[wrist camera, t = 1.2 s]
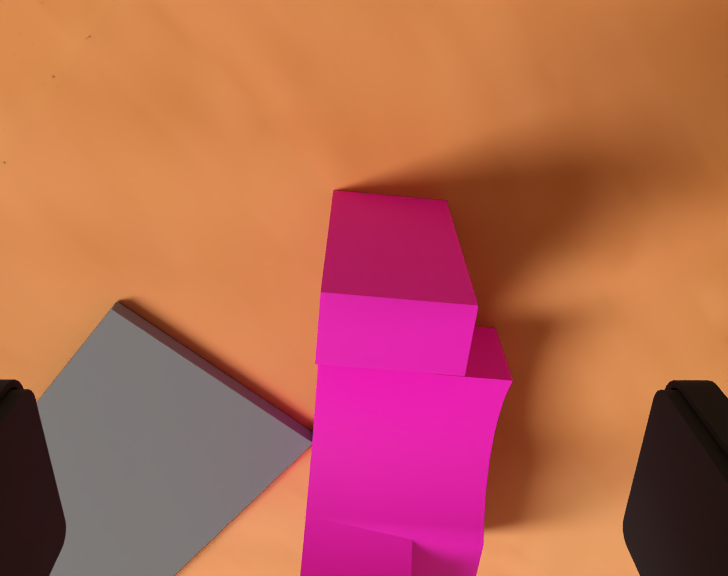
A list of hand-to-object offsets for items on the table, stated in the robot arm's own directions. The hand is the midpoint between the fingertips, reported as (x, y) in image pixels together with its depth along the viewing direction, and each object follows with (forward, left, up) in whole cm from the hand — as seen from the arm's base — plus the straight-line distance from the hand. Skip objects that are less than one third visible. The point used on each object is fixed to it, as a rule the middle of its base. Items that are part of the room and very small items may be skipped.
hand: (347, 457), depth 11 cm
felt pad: (+10, +14, -13) cm, 22 cm away
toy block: (-2, +8, -14) cm, 16 cm away
